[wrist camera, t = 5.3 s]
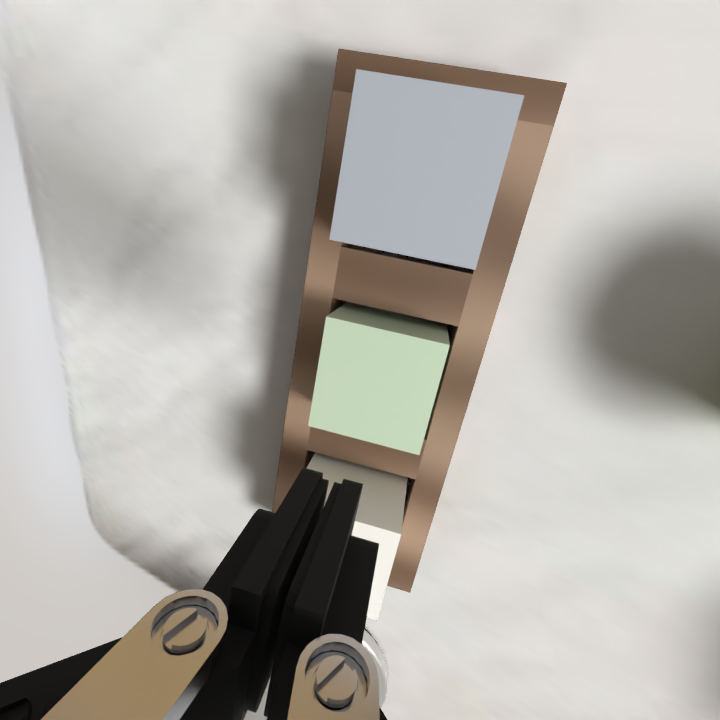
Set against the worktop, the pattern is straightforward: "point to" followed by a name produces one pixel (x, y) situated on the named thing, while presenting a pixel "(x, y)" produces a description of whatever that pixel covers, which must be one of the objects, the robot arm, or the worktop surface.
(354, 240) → the grey button
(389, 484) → the white button
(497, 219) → the button housing
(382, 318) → the sage button
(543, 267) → the worktop surface
